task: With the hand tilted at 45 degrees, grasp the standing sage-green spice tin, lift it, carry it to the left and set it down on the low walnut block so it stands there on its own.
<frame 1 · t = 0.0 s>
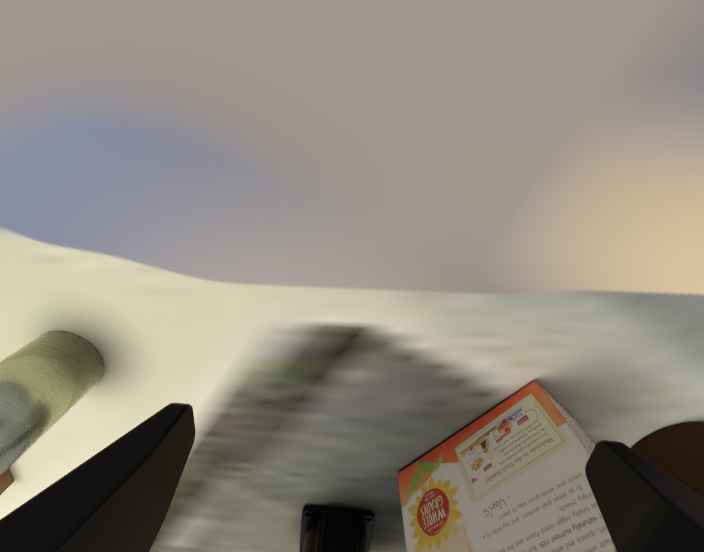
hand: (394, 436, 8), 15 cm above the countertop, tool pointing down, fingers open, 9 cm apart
spice tin: (69, 360, 25), on the countertop
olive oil: (674, 461, 28), on the countertop
cracker box: (482, 444, 28), on the countertop
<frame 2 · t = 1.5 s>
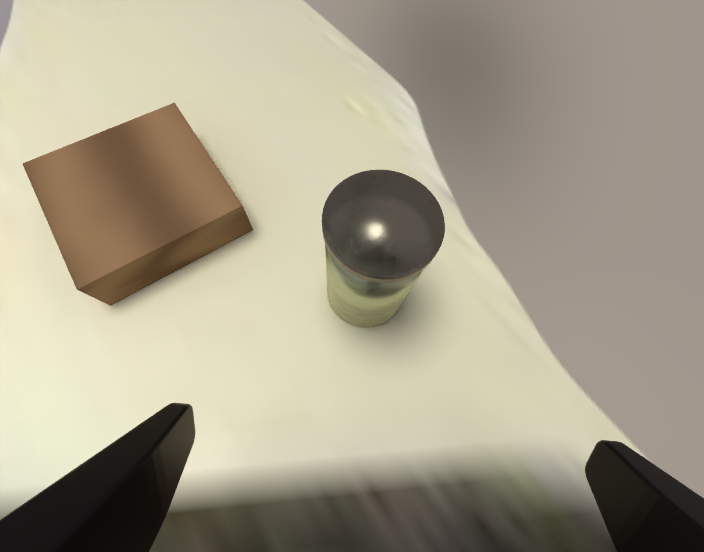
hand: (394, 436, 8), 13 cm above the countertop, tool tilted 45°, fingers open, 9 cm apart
spice tin: (364, 290, 23), on the countertop
walnut block: (154, 210, 24), on the countertop
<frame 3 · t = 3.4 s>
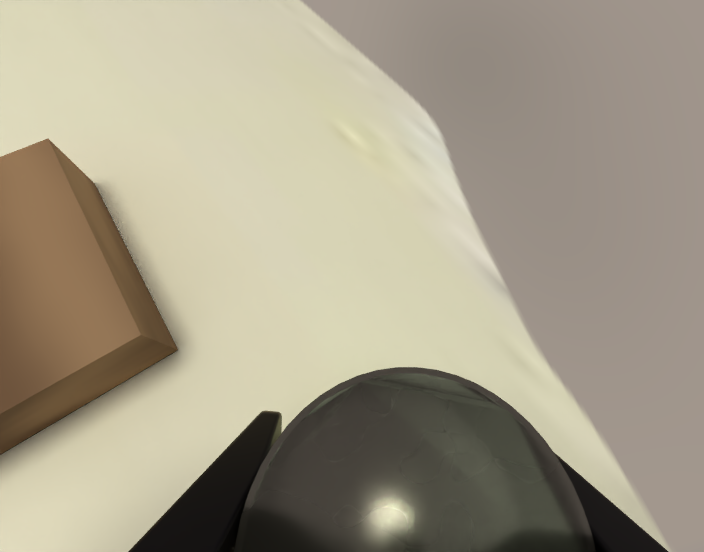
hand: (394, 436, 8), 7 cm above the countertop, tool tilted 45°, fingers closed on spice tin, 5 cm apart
spice tin: (364, 465, 13), on the countertop, touching gripper
walnut block: (16, 317, 15), on the countertop
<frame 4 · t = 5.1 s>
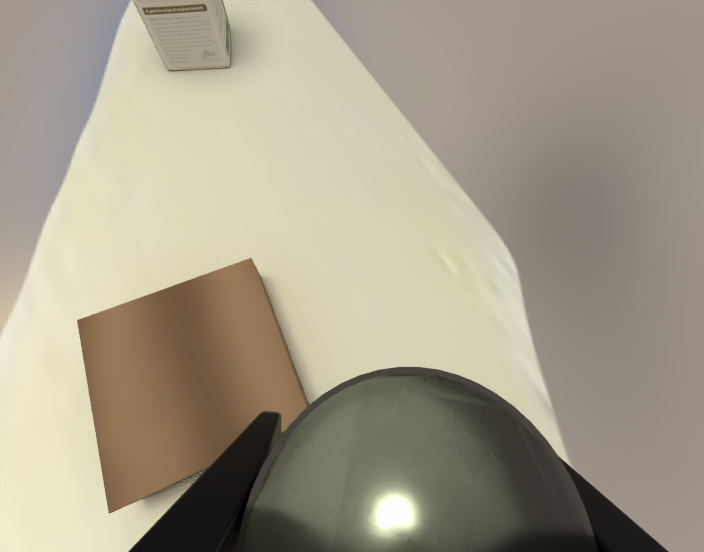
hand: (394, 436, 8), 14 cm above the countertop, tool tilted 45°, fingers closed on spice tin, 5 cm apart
spice tin: (365, 465, 13), point 8 cm above the countertop, touching gripper
walnut block: (208, 373, 21), on the countertop
syrup box: (199, 51, 32), on the countertop
when the fingers open (11 cm above the countertop, at t = 6.7 s): spice tin drops 1 cm, resting on walnut block.
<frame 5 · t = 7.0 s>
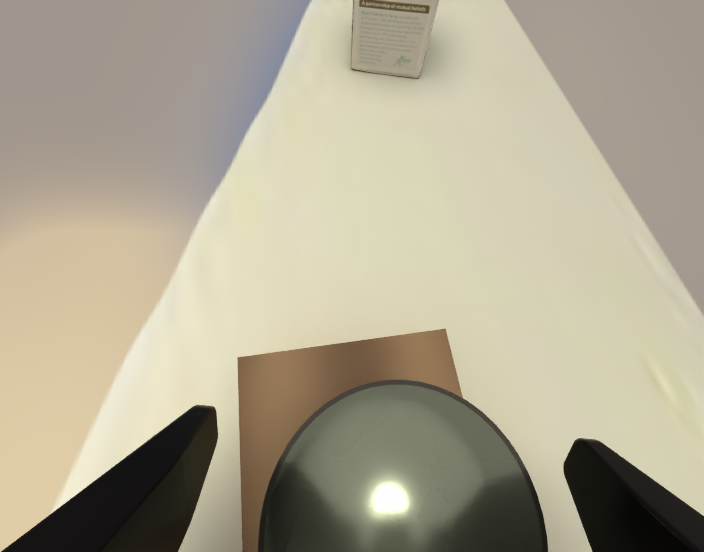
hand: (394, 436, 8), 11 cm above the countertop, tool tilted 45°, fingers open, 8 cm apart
spice tin: (363, 461, 15), point 3 cm above the countertop, touching walnut block
walnut block: (356, 451, 17), on the countertop
syrup box: (386, 54, 29), on the countertop
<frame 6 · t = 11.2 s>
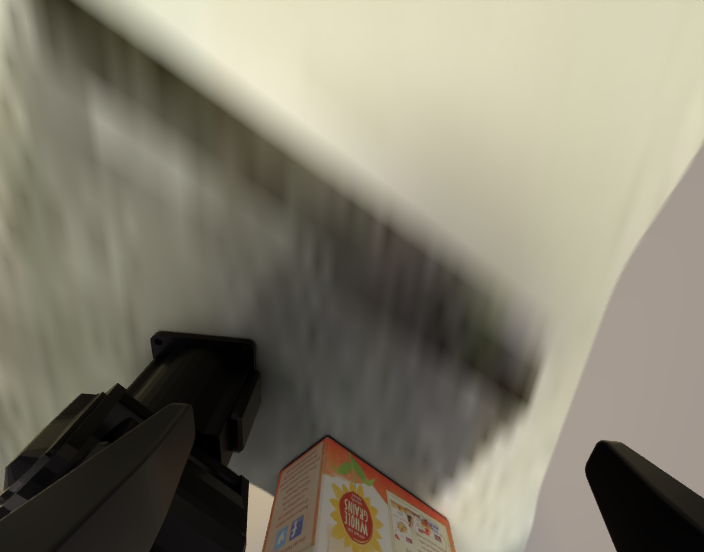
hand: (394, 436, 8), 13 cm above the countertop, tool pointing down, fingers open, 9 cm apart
cracker box: (366, 493, 28), on the countertop
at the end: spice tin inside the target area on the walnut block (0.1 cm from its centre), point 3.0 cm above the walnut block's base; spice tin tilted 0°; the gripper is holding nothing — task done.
